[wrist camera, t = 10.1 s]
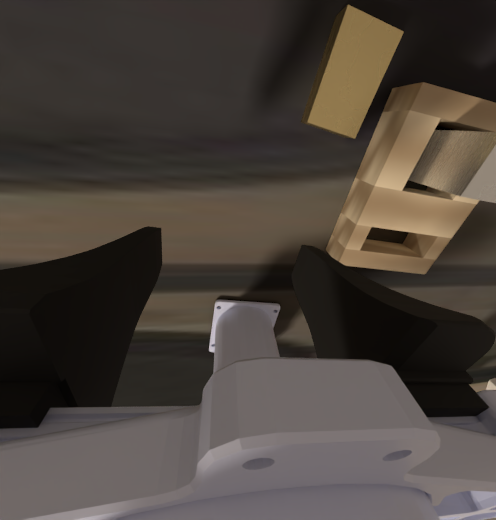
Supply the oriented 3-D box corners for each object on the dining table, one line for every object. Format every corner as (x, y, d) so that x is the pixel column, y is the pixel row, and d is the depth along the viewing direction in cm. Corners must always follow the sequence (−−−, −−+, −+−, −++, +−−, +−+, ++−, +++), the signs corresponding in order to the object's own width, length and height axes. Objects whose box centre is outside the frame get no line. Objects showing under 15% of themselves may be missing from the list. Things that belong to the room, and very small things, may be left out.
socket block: (404, 258, 25) (425, 274, 23) (325, 249, 24) (337, 264, 21) (497, 116, 18) (541, 115, 16) (392, 88, 16) (423, 82, 14)
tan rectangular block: (343, 136, 18) (355, 138, 17) (299, 122, 17) (307, 122, 16) (384, 41, 15) (403, 31, 14) (333, 18, 14) (348, 4, 13)
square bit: (423, 180, 20) (504, 204, 15) (390, 174, 20) (460, 196, 14) (448, 137, 19) (551, 145, 13) (412, 128, 18) (504, 132, 12)
